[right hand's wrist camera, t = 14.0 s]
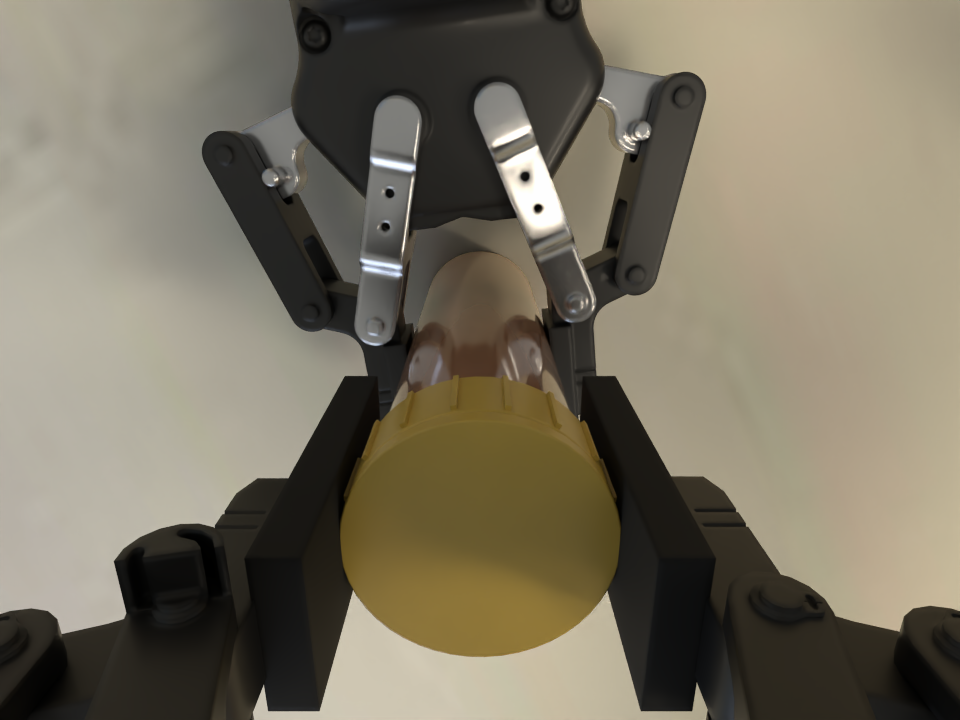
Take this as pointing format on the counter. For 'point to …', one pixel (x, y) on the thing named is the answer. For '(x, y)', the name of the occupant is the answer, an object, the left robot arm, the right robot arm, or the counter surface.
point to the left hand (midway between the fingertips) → (490, 428)
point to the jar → (480, 329)
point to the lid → (480, 519)
